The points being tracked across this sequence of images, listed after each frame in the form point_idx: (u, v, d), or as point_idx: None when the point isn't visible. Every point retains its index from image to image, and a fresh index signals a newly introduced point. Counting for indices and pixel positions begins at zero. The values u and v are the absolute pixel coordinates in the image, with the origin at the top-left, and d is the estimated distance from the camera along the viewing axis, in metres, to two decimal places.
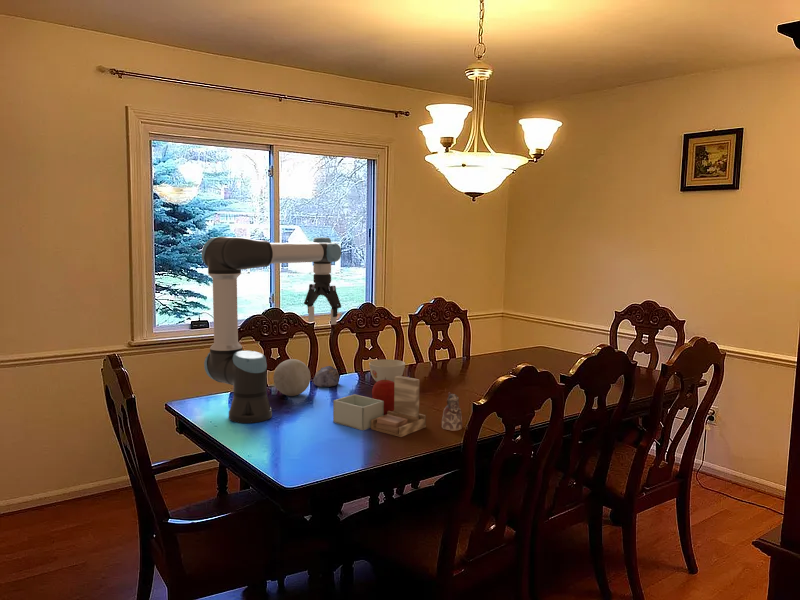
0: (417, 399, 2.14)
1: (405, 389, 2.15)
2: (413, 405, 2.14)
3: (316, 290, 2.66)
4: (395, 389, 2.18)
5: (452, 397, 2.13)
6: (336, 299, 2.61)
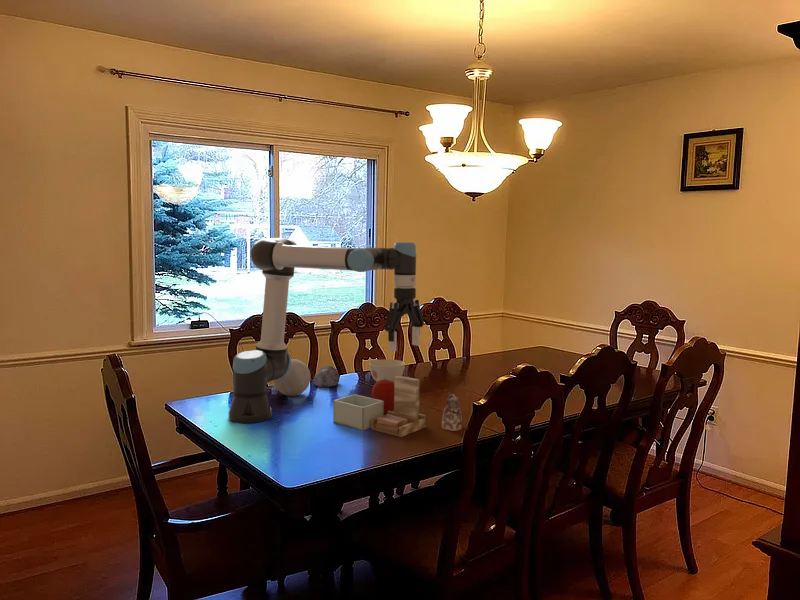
0: (417, 399, 2.14)
1: (405, 389, 2.15)
2: (413, 405, 2.14)
3: None
4: (395, 389, 2.18)
5: (452, 397, 2.13)
6: (388, 319, 2.09)
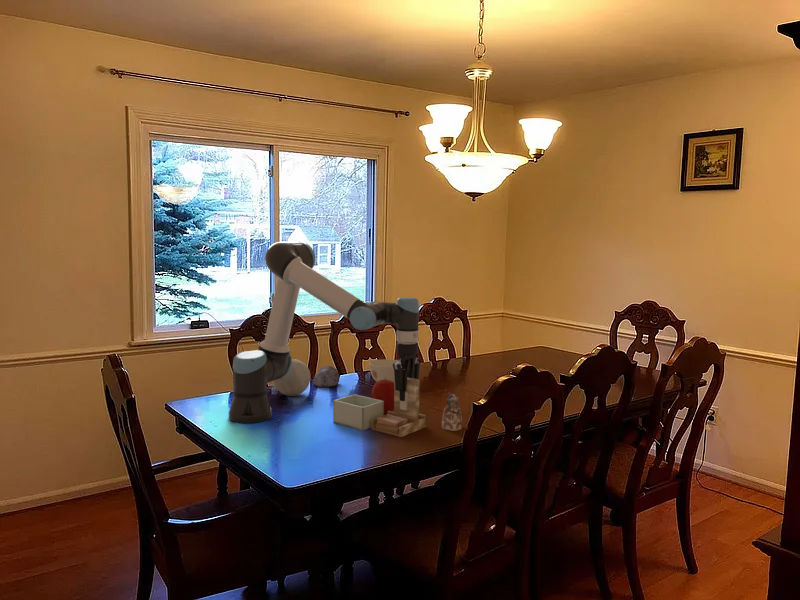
0: (417, 399, 2.14)
1: None
2: (413, 405, 2.14)
3: None
4: None
5: (452, 397, 2.13)
6: (396, 381, 2.12)
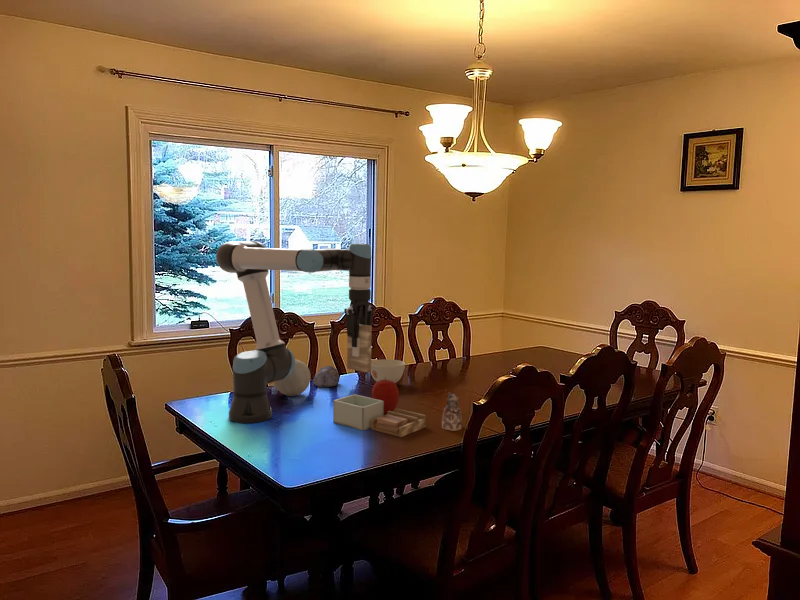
0: (369, 345, 2.14)
1: None
2: (365, 351, 2.14)
3: None
4: (348, 336, 2.18)
5: (452, 397, 2.13)
6: (348, 326, 2.12)
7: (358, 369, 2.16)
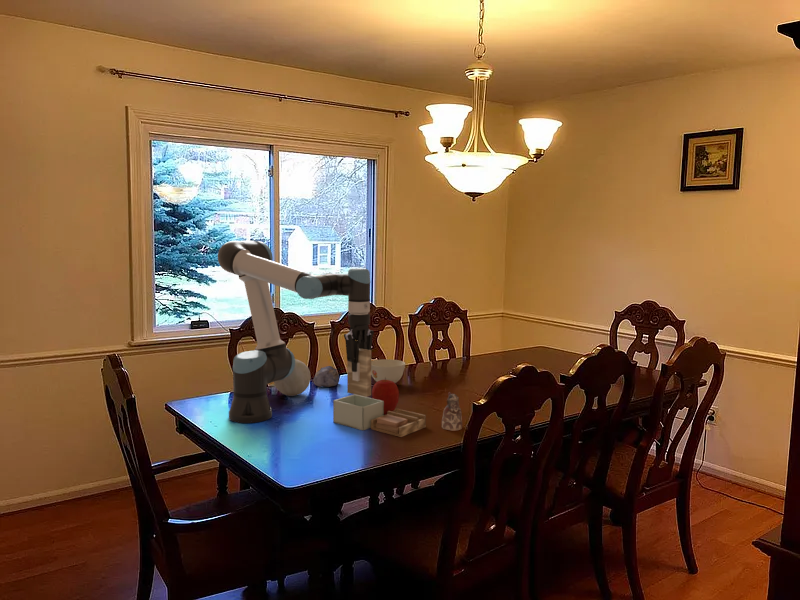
0: (369, 370, 2.15)
1: None
2: (365, 375, 2.14)
3: None
4: None
5: (452, 397, 2.13)
6: (348, 351, 2.13)
7: (358, 393, 2.17)
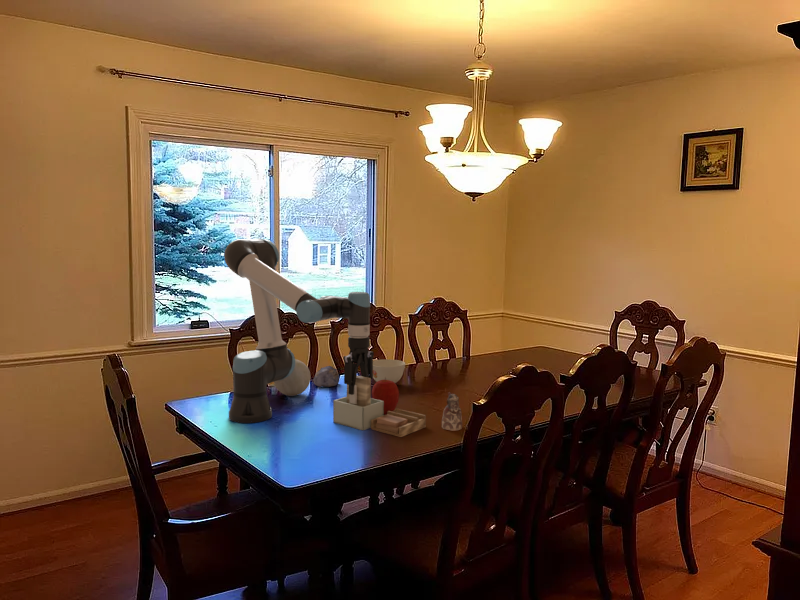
0: (368, 397, 2.16)
1: None
2: (364, 403, 2.16)
3: None
4: (347, 387, 2.20)
5: (452, 397, 2.13)
6: (346, 374, 2.13)
7: None
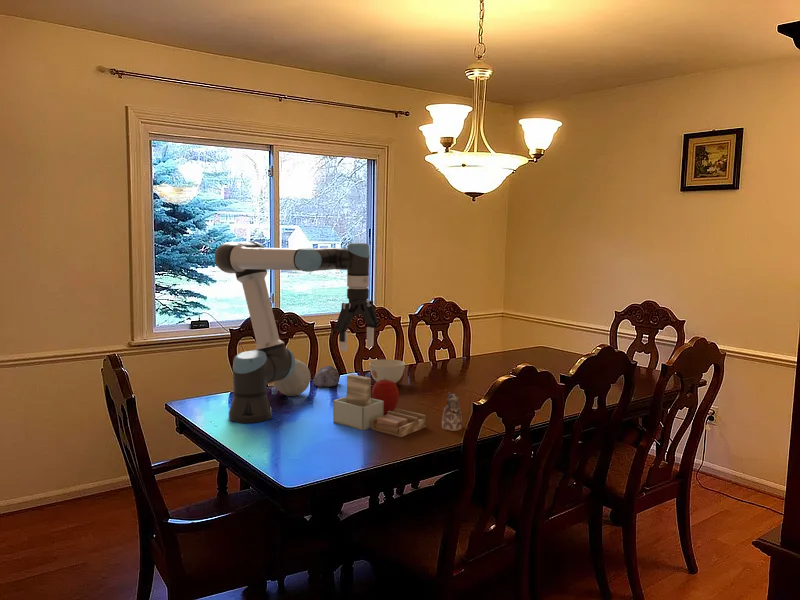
0: (368, 397, 2.16)
1: (356, 387, 2.17)
2: (364, 403, 2.16)
3: None
4: (347, 387, 2.20)
5: (452, 397, 2.13)
6: (339, 320, 2.09)
7: None
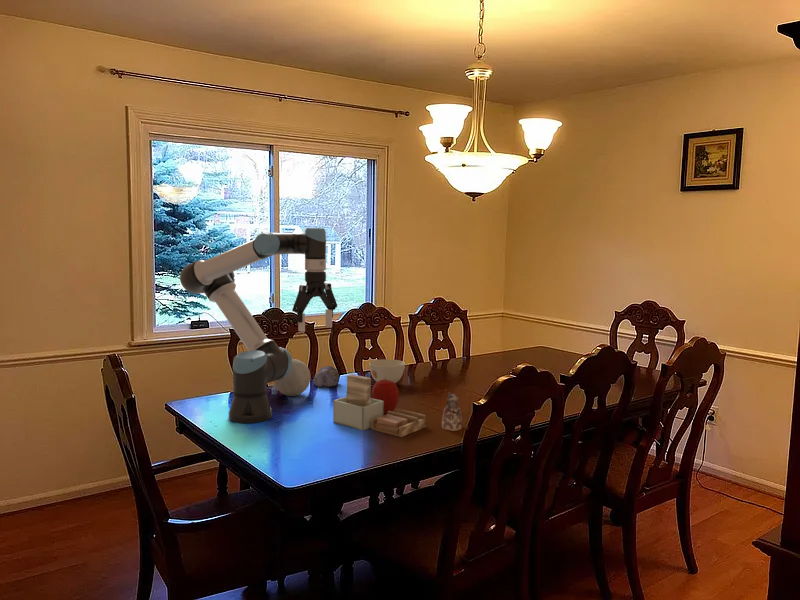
0: (368, 397, 2.16)
1: (356, 387, 2.17)
2: (364, 403, 2.16)
3: None
4: (347, 387, 2.20)
5: (452, 397, 2.13)
6: (297, 301, 2.18)
7: None
